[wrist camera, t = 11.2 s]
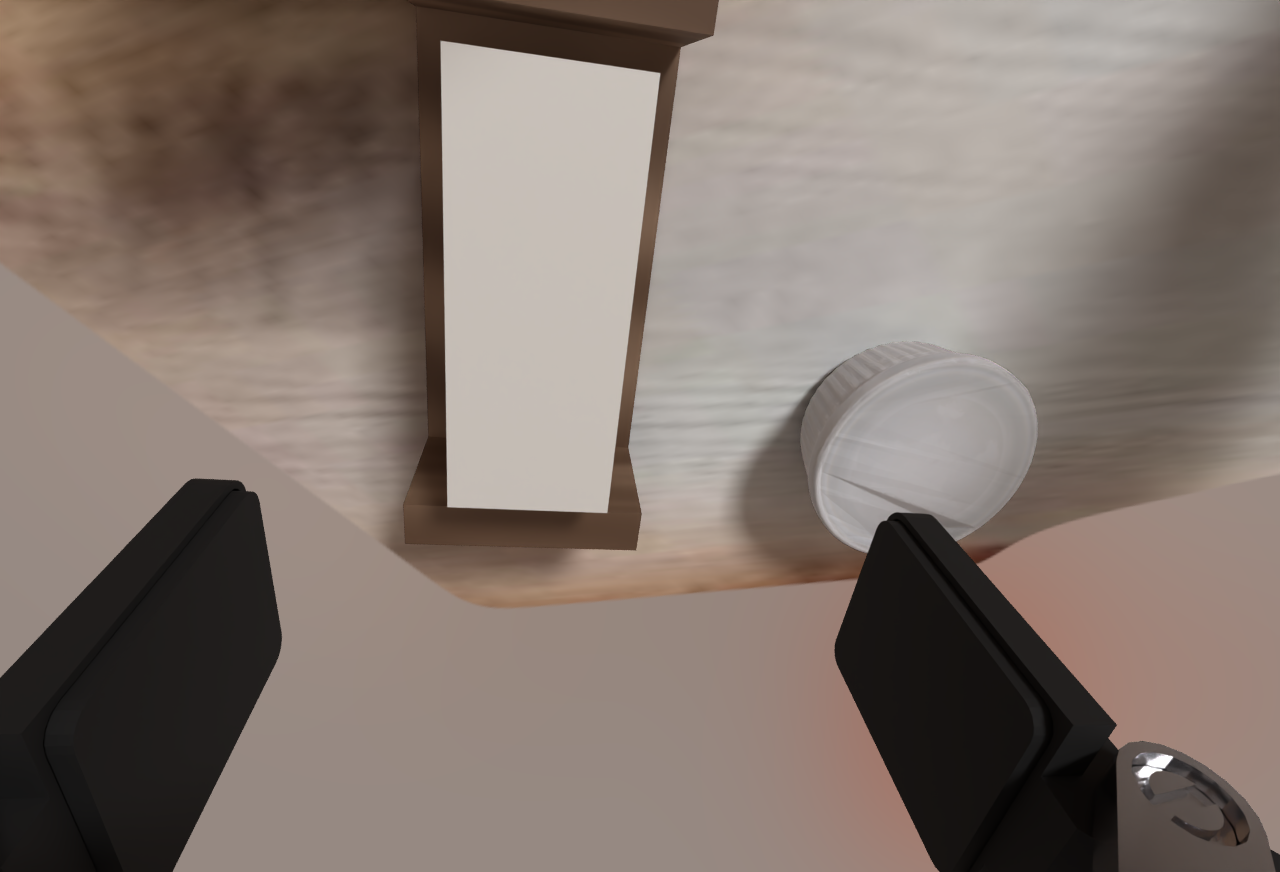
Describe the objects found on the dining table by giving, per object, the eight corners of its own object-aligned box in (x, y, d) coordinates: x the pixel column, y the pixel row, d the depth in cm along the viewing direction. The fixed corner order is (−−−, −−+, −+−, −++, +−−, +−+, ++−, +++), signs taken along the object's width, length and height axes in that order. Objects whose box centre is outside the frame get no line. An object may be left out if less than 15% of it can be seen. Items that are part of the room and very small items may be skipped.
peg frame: (419, -56, 24) (371, -107, 18) (684, -11, 25) (725, -43, 19) (432, 461, 34) (405, 543, 28) (622, 470, 35) (636, 550, 29)
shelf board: (461, 50, 21) (440, 40, 17) (641, 76, 22) (660, 73, 18) (462, 448, 28) (447, 507, 24) (600, 455, 29) (607, 513, 25)
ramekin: (781, 517, 38) (812, 575, 34) (779, 339, 33) (816, 380, 28) (964, 487, 39) (1019, 540, 34) (990, 307, 33) (1060, 342, 29)
